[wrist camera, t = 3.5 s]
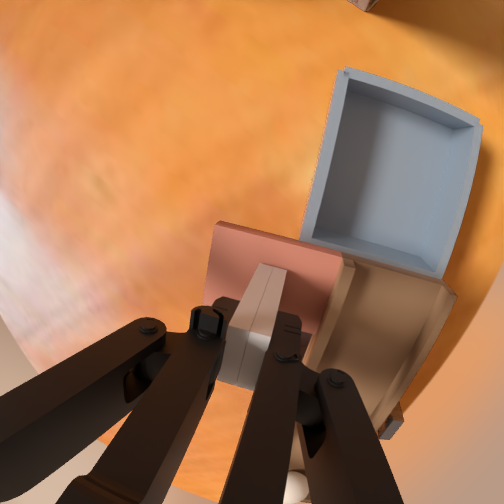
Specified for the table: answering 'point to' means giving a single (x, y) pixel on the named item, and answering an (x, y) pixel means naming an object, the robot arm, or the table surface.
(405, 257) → the dish
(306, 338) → the fulcrum
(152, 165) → the table surface
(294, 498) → the ball
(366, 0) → the coffee box
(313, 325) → the lever
